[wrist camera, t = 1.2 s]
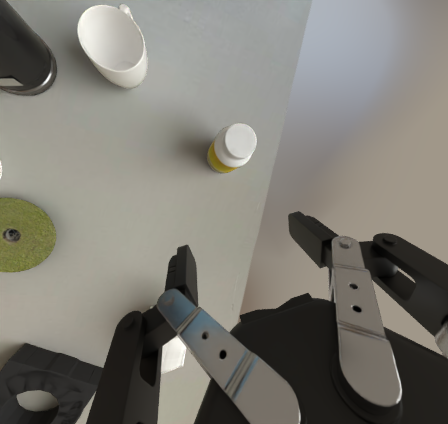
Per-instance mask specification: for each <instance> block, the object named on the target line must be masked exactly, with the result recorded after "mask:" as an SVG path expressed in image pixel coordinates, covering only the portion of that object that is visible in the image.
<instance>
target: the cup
mask: <svg viewBox="0 0 448 424" xmlns="http://www.w3.org/2000/svg"><path fill="white" fill-rule="evenodd" d="M77 34H78V39H79V42H80V44H81V47H82V48H83V50H84V52H85V53H86V55H87V56H88V58H89V59H90V61H91V62H92V63H93V65H94V66H95V67H96V68H97V70H98V71H99V72H100V73H101V74H102V75H103V76H104V77H105V78H107V79H108V80H109V81H111V82H112V83H114V84H116V85H118V86H120V87H123V88H129V89H130V88H136V87H138V86H139V85H140V84H141V83H142V82H143V81H144V79H145V77H146V74H147V70H148V56H147V50H146V45H145V41H144V37H143V34H142V32H141V30H140V28H139V27H138V25H137V24H136V22H135V21H134V20H133V17H132V14H131V11H130V9H129V8H128V7H127V6H126V5H124V4H120V5H119V8H116V7H113V6H109V5H96V6H92V7H90V8H88V9H87V10H86V11H84V12H83V14H82V15H81V16H80V18H79V21H78V25H77Z"/></svg>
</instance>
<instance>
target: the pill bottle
mask: <svg viewBox="0 0 448 424" xmlns="http://www.w3.org/2000/svg"><path fill="white" fill-rule="evenodd" d="M256 144H257V140H256V135H255V133H254V131H253V130H252V128H251V127H249V126H248V125H246V124H244V123H236V124H233V125H231V126H228V127H225V128H223V129H222V130H221V131H220V132H219V133H218V134H217V136H216V138H215V139H214V141H213V143H212V144H211V146H210V148H209V150H208V153H207V160H208V163H209V165H210V167H211V168H212V169H213V170H214V171H216V172H218V173H228V172H230V171H233V170H235V169H237V168H239V167H241V166H243V165H244V164H245V163H247V162H248V160H249V159H250V157H251V155H252V153H253V152H254V150H255V148H256Z"/></svg>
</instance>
